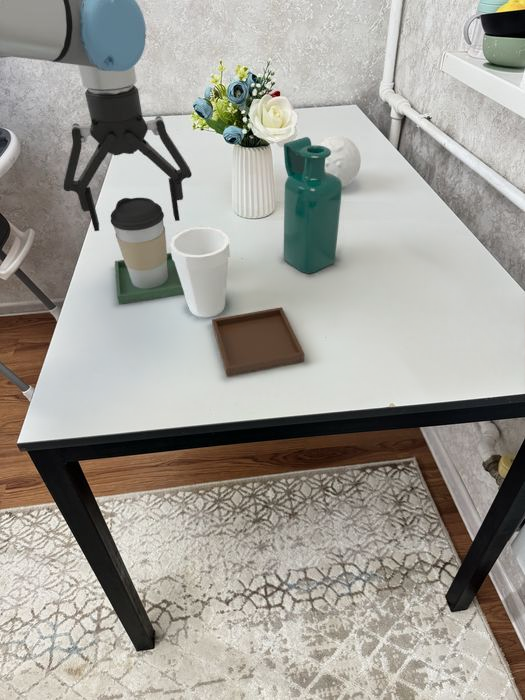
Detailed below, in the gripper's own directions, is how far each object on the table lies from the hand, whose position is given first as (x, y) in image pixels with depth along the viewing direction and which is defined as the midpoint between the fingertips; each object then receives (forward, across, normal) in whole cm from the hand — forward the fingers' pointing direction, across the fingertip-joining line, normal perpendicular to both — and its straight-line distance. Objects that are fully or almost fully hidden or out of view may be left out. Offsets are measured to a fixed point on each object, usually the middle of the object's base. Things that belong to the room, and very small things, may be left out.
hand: (137, 222), depth 85 cm
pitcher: (+12, -31, +1) cm, 34 cm away
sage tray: (+12, 0, 0) cm, 12 cm away
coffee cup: (+12, 0, 0) cm, 12 cm away
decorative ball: (+12, -48, -29) cm, 58 cm away
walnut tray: (+12, -15, +23) cm, 30 cm away
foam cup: (+12, -9, +11) cm, 19 cm away
